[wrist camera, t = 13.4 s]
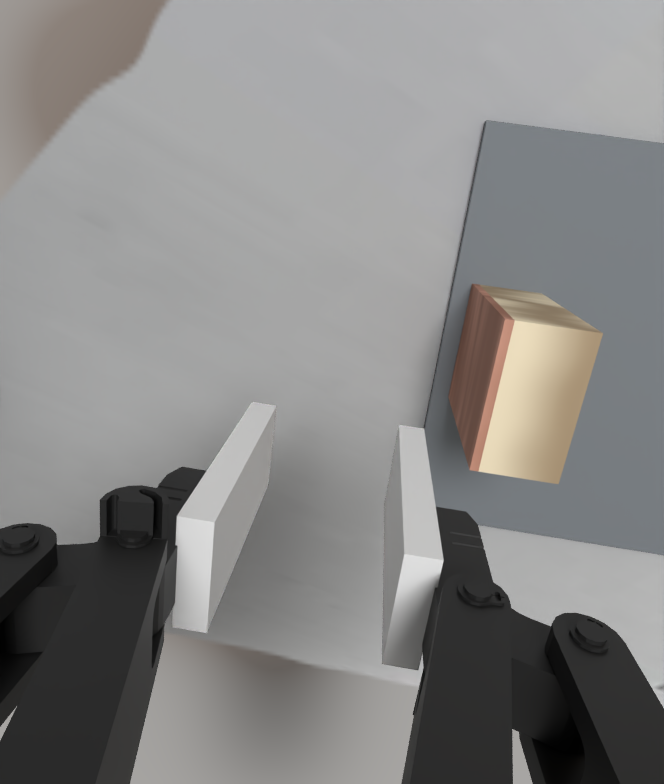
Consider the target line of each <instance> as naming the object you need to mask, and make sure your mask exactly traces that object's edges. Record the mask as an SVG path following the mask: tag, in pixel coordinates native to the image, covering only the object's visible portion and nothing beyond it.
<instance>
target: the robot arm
mask: <svg viewBox="0 0 664 784" xmlns="http://www.w3.org/2000/svg"><path fill="white" fill-rule="evenodd" d="M276 408H277V406H276V405H269V404H263V403H256V402H252V403H251V404H250V406H249V407H248V409H247V410H246V412H245V413H244V415H243V416H242V418H241V420H240V421H239V423H238V424H237V426H236V427H235V429H234V430H233V432H232V433H231V435H230V436H229V438H228V439H227V441H226V442H225V444H224V445H223V447H222V448H221V450H220V451H219V453H218V454H217V456H216V457H215V459H214V460H213V462H212V463H211V465H210V466H209V468H208V469H207V471H204V470H198V469H192V468H186V467H181V468H179V469H177V470H175V471H173V472H171V473H169V474H167V475H166V477H165V478H164V479H163V480H162V482H161V483H160V484H159V486H158V487H157V488H153V487H147V486H127V487H122V488H118V489H115V490H113V491H111V492H109V493H107V494H105V495H104V496H103V498H102V499H101V500H100V537H99V540H98V542H95V543H88V544H73V545H57V538H56V533H55V532H54V531H53V530H52V529H51V528H49V527H46V526H44V525H41V524H30V523H26V524H16V525H11V526H8V527H5V528H2V529H0V726H1V725H2V724H3V723H4V721H5V720H6V719H7V717H8V716H9V715H10V714H11V713H12V711H13V710H14V709H15V707H16V706H17V705H18V706H17V708H16V710H15V712H14V714H13V716H12V718H11V720H10V722H9V724H8V726H7V728H6V731H5V732H4V735H3V737H2V739H1V741H0V784H130V780H131V776H132V772H133V768H134V763H135V759H136V755H137V751H138V747H139V742H140V738H141V734H142V730H143V726H144V722H145V718H146V713H147V709H148V705H149V701H150V697H151V692H152V688H153V684H154V680H155V675H156V672H157V667H158V663H159V659H160V655H161V650H162V646H163V642H164V623H165V621H166V619H167V617H168V615H169V613H170V612H171V610H172V608H173V613H172V627H174V628H180V629H186V630H192V631H197V632H203V633H207V632H208V629H209V627H210V624H211V622H212V620H213V617H214V615H215V612H216V610H217V608H218V605H219V603H220V600H221V598H222V596H223V593H224V591H225V588H226V586H227V584H228V581H229V579H230V576H231V574H232V571H233V569H234V567H235V564H236V562H237V559H238V557H239V555H240V552H241V550H242V547H243V545H244V543H245V540H246V538H247V535H248V533H249V531H250V528H251V526H252V523H253V521H254V519H255V516H256V514H257V511H258V509H259V507H260V504H261V502H262V499H263V497H264V494H265V492H266V490H267V487H268V485H269V475H270V466H271V456H272V446H273V437H274V427H275V417H276ZM483 548H484V546H483V543H482V539H481V535H480V531H479V528H478V524H477V523H476V522H475V521H474V520H473V518H472V517H471V516H470V515H469V514H468V513H467V512H466V511H460V510H454V509H448V508H441V507H436V505H435V499H434V492H433V485H432V479H431V472H430V465H429V458H428V452H427V445H426V438H425V431H424V429H423V428H417V427H410V426H404V425H399V427H398V433H397V438H396V444H395V449H394V455H393V460H392V465H391V471H390V476H389V482H388V487H387V493H386V498H385V504H384V568H383V633H382V664H385V665H391V666H397V667H402V668H408V669H414V670H418V669H419V665H420V661H421V656H422V652H423V664H424V669H423V673H422V677H421V682H420V686H419V690H418V695H417V699H416V703H415V707H414V711H413V715H414V719H413V724H412V730H411V735H410V741H409V746H408V751H407V757H406V763H405V768H404V773H403V779H402V784H513V774H512V773H513V770H512V769H513V764H512V729H514V730H516V731H519V737H520V741H521V745H522V748H523V752H524V755H525V758H526V762H527V765H528V769H529V772H530V775H531V779H532V782H533V784H664V708H663V706H662V705H661V703H660V701H659V700H658V698H657V696H656V695H655V693H654V691H653V689H652V688H651V686H650V684H649V683H648V681H647V679H646V678H645V676H644V674H643V672H642V671H641V669H640V667H639V666H638V664H637V662H636V661H635V659H634V657H633V655H632V654H631V652H630V650H629V649H628V647H627V645H626V644H625V642H624V641H623V640H622V639H621V637H620V636H619V635H618V634H617V632H615V631H614V630H613V629H611V628H610V627H609V626H607V625H606V624H605V623H603V622H601V621H599V620H596V619H595V618H592V617H590V616H586V615H582V614H578V613H564V614H561V615H559V616H557V617H556V618H555V620H554V621H553V623H552V626H551V627H550V626H548V625H545V624H543V623H540V622H538V621H535V620H532V619H530V618H528V617H526V616H524V615H521V614H519V613H518V612H516V611H515V610H513V609H512V608H511V604H510V601H509V598H508V595H507V594H506V593H505V592H504V591H503V590H502V588H501V587H499V586H498V585H496V584H495V583H493V580H492V576H491V573H490V569H489V565H488V561H487V558H486V554H485V550H483Z"/></svg>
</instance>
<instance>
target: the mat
mask: <svg viewBox="0 0 664 784" xmlns="http://www.w3.org/2000/svg"><path fill="white" fill-rule="evenodd" d="M472 284H479V285H486V286H493V287H500V288H507V289H514V290H521V291H528V292H535V293H542V294H543V295H545V296H546V297H548V298H550V299H551V300H553V301H554V302H556V303H557V304H559V305H560V306H562V307H563V308H565V309H566V310H568V311H570V312H571V313H573V314H574V315H576V316H577V317H579V318H580V319H582V320H583V321H585V322H586V323H588V324H590V325H591V326H593V327H594V328H596V329H597V330H599V331H600V332H602V333H603V336H602V339H601V342H600V346H599V349H598V352H597V356H596V359H595V363H594V366H593V369H592V373H591V376H590V380H589V383H588V386H587V390H586V393H585V396H584V400H583V403H582V407H581V410H580V413H579V417H578V420H577V423H576V427H575V430H574V434H573V437H572V440H571V444H570V447H569V450H568V454H567V457H566V461H565V464H564V467H563V471H562V474H561V477H560V481H559V484H554V483H547V482H541V481H535V480H528V479H522V478H516V477H510V476H503V475H497V474H491V473H484V472H478V471H472V470H469V467H468V463H467V460H466V456H465V453H464V449H463V446H462V442H461V439H460V436H459V432H458V429H457V425H456V422H455V418H454V415H453V412H452V408H451V405H450V401H449V398H448V395H449V390H450V386H451V381H452V376H453V371H454V367H455V362H456V357H457V353H458V348H459V343H460V338H461V334H462V329H463V324H464V319H465V315H466V310H467V305H468V300H469V296H470V291H471V286H472ZM424 431H425V438H426V445H427V452H428V458H429V465H430V472H431V479H432V485H433V492H434V499H435V505H436V507H441V508H448V509H454V510H460V511H466V512H467V513H468V514H469V515H470V516H471V517H472V518H473V520H474V521H475V522H476V523H477V524H478V525H482V526H488V527H494V528H501V529H507V530H513V531H519V532H525V533H531V534H537V535H543V536H550V537H556V538H562V539H568V540H574V541H580V542H586V543H592V544H599V545H605V546H611V547H617V548H623V549H629V550H635V551H641V552H648V553H654V554H660V555H664V143H657V142H650V141H642V140H634V139H627V138H619V137H611V136H604V135H596V134H588V133H581V132H573V131H565V130H558V129H550V128H542V127H535V126H527V125H519V124H512V123H504V122H496V121H489V120H487V121H485V125H484V130H483V135H482V140H481V145H480V150H479V155H478V160H477V165H476V170H475V175H474V180H473V185H472V190H471V195H470V200H469V205H468V210H467V215H466V220H465V225H464V230H463V235H462V240H461V245H460V250H459V255H458V260H457V265H456V270H455V275H454V280H453V285H452V290H451V295H450V300H449V305H448V310H447V315H446V320H445V325H444V330H443V335H442V340H441V345H440V350H439V355H438V360H437V365H436V370H435V375H434V380H433V385H432V390H431V395H430V400H429V405H428V410H427V415H426V420H425V425H424Z"/></svg>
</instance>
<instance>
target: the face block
mask: <svg viewBox="0 0 664 784" xmlns="http://www.w3.org/2000/svg"><path fill="white" fill-rule="evenodd" d="M602 336H603V333H602V332H600V331H599V330H597V329H596V328H594V327H593V326H591V325H590V324H588V323H586V322H585V321H583V320H582V319H580V318H579V317H577V316H576V315H574V314H573V313H571V312H570V311H568V310H566V309H565V308H563V307H562V306H560V305H559V304H557V303H556V302H554V301H553V300H551V299H550V298H548V297H546V296H545V295H543V294H542V293H535V292H528V291H521V290H514V289H507V288H500V287H493V286H486V285H479V284H472V286H471V291H470V296H469V300H468V305H467V310H466V315H465V319H464V324H463V329H462V334H461V338H460V343H459V348H458V353H457V357H456V362H455V367H454V371H453V376H452V381H451V386H450V390H449V395H448V398H449V401H450V405H451V408H452V412H453V415H454V418H455V422H456V425H457V429H458V432H459V436H460V439H461V442H462V446H463V449H464V453H465V456H466V460H467V463H468V467H469V470H472V471H478V472H484V473H491V474H497V475H503V476H510V477H516V478H522V479H528V480H535V481H541V482H547V483H554V484H559V481H560V477H561V474H562V471H563V467H564V464H565V461H566V457H567V454H568V450H569V447H570V444H571V440H572V437H573V434H574V430H575V427H576V423H577V420H578V417H579V413H580V410H581V407H582V403H583V400H584V396H585V393H586V390H587V386H588V383H589V380H590V376H591V373H592V369H593V366H594V363H595V359H596V356H597V352H598V349H599V346H600V342H601V339H602Z"/></svg>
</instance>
